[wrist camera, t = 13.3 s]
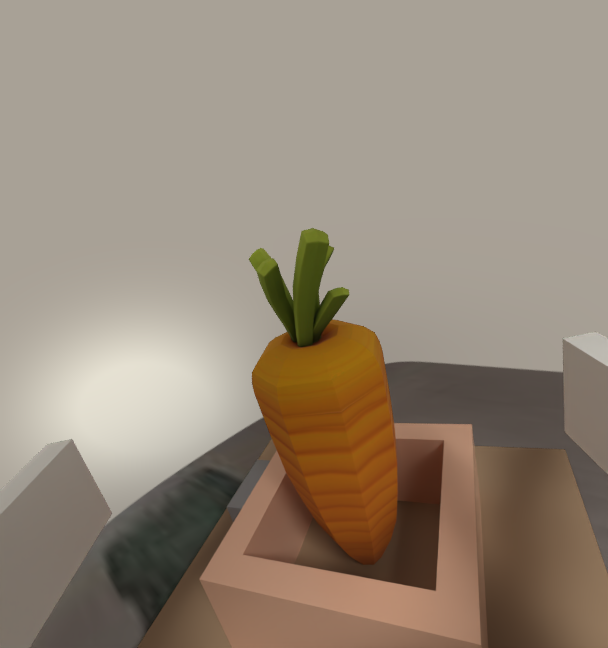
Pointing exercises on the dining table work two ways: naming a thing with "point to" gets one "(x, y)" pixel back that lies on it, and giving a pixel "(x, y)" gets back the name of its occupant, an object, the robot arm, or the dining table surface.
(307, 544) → the walnut board
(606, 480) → the dining table surface
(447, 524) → the pink square planter box
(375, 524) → the carrot
